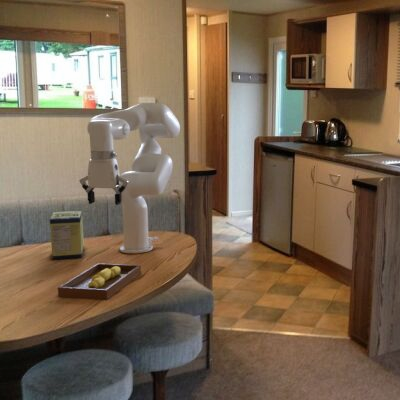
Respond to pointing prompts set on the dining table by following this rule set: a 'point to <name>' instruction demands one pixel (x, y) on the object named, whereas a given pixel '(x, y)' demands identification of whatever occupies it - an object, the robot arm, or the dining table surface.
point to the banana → (103, 277)
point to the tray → (110, 287)
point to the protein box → (66, 234)
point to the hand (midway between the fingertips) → (105, 203)
